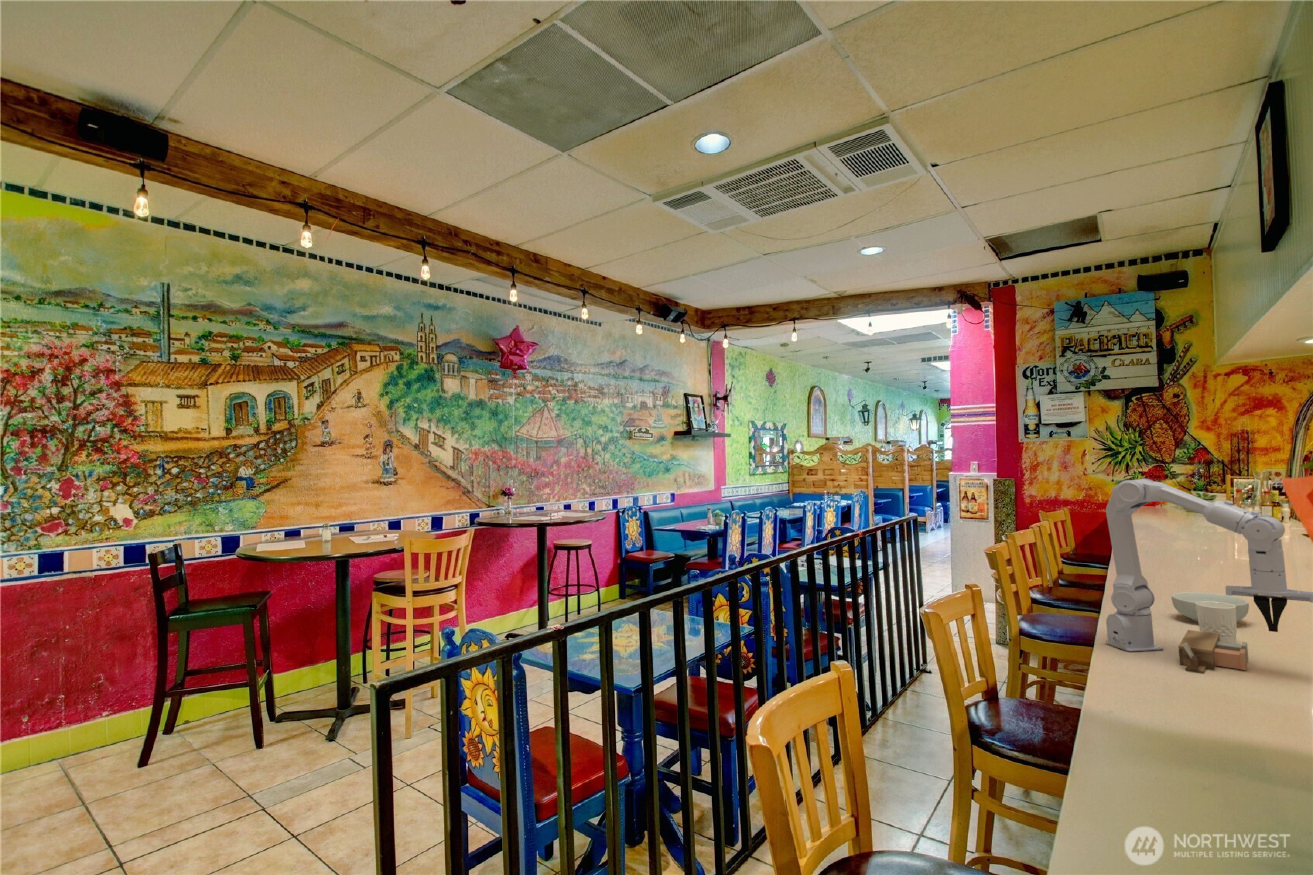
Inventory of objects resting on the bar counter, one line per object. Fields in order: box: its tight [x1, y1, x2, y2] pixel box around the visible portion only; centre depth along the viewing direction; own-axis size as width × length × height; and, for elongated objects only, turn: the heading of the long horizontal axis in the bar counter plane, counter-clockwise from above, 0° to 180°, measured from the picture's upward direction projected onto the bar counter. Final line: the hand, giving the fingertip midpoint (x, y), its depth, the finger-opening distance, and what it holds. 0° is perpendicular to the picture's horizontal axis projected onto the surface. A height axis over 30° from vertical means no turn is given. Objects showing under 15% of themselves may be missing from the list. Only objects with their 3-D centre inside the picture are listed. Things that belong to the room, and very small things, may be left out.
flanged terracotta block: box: [1214, 648, 1248, 671], centre depth 144 cm, size 7×4×4 cm, turn 43°
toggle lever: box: [1182, 643, 1199, 662], centre depth 143 cm, size 1×2×4 cm, turn 133°
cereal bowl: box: [1171, 591, 1250, 623], centre depth 180 cm, size 17×17×7 cm
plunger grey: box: [1217, 641, 1249, 664], centre depth 148 cm, size 7×4×4 cm, turn 43°
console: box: [1178, 629, 1220, 674], centre depth 148 cm, size 6×22×4 cm, turn 133°
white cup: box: [1196, 601, 1238, 644], centre depth 161 cm, size 8×8×10 cm
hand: (1273, 630), depth 138 cm, fingers closed
